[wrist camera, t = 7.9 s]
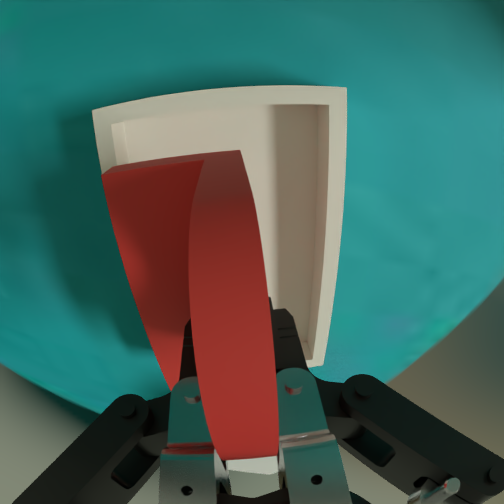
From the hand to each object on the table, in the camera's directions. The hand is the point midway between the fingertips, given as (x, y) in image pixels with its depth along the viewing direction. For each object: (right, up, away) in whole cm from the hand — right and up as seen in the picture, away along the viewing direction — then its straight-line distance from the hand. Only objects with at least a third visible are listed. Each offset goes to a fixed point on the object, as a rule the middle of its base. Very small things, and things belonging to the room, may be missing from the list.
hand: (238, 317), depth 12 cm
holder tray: (-1, +3, +5) cm, 6 cm away
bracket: (-2, +1, +1) cm, 2 cm away
